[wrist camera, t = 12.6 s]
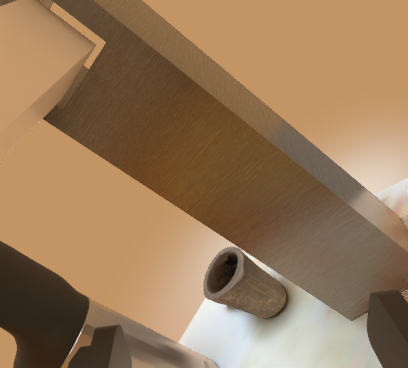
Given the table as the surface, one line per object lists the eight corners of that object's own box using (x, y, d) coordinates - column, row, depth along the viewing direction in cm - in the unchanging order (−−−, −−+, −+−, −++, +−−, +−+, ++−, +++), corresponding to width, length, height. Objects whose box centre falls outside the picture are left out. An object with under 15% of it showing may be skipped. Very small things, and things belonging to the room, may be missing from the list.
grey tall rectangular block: (351, 320, 34) (-37, 66, 22) (332, 262, 39) (16, 38, 28) (433, 272, 30) (19, -59, 19) (399, 216, 36) (67, -62, 25)
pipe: (238, 279, 52) (192, 251, 50) (305, 279, 42) (251, 243, 39) (221, 323, 50) (172, 295, 47) (289, 334, 39) (230, 299, 36)
